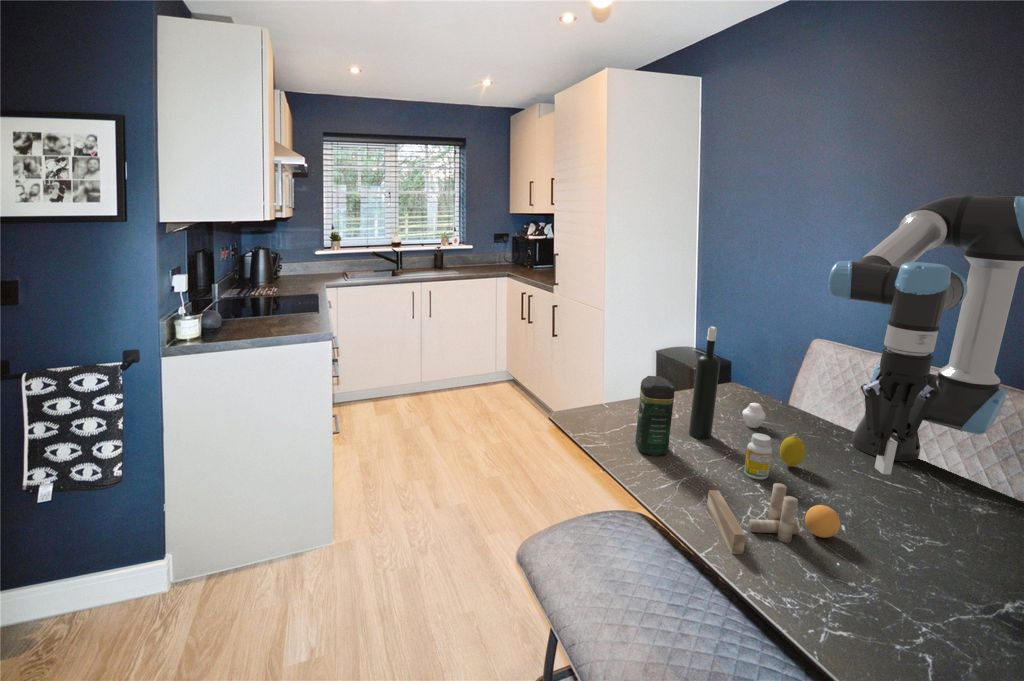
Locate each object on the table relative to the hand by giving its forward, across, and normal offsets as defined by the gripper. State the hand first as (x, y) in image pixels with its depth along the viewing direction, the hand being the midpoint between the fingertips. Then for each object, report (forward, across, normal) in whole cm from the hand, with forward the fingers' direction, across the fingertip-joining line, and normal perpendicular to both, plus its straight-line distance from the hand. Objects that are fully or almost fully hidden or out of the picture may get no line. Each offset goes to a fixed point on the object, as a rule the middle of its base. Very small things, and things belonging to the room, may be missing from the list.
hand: (882, 470), depth 110 cm
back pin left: (+14, -17, -2) cm, 22 cm away
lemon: (+14, -3, +29) cm, 32 cm away
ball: (+11, -10, 0) cm, 15 cm away
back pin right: (+14, -17, +2) cm, 22 cm away
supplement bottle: (+14, -13, +24) cm, 31 cm away
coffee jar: (+14, -35, +36) cm, 52 cm away
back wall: (+14, -28, 0) cm, 31 cm away
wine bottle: (+14, -20, +46) cm, 52 cm away
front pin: (+13, -14, 0) cm, 19 cm away
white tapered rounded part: (+14, -3, +54) cm, 56 cm away
